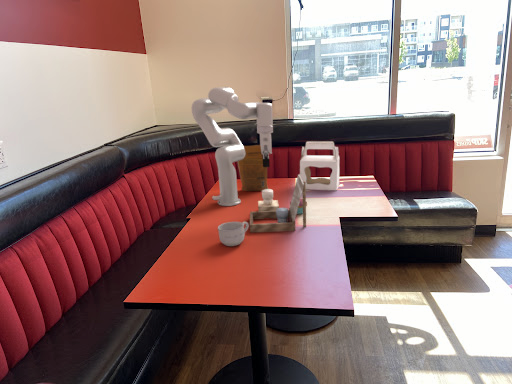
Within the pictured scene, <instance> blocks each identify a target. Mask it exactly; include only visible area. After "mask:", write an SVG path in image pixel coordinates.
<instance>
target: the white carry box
mask: <svg viewBox="0 0 512 384" xmlns="http://www.w3.org/2000/svg"><path fill="white" fill-rule="evenodd" d="M301 147H302V148H301V156H300V159H299V175H300V177H301V179H302V181H306V190H316V191H317V190H318V191H338V188H339V187H340V155H339V153H340V151H339V146H336V145H335V142H334V141H332V140H331V141H329V140H327V141H321V140H320V141H317V140H316V141H315V140H314V141H313V140H311V141H310V140H309V141H306V142H305V146H301ZM308 150H332V154H333V155H322V154H321V155H313V154H312V155H311V154H309V155H308V153H307V152H308ZM310 167H313V168H314V167H315V168H319V169H320V168H330V169H331V170H332V172H331V173H330V177H329V178H325V177H316V178H312V177H311V174H312V173H311V169H310Z"/></svg>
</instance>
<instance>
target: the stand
mask: <svg viewBox="0 0 512 384" xmlns="http://www.w3.org/2000/svg"><path fill="white" fill-rule="evenodd" d="M257 204H258V205H257V206H258V207H257V208H258V211H276V209H278V208H280V205H279V200H278V199H277V200H276V199H273V204H271V205H265V204H264V203H263V200H258V201H257Z"/></svg>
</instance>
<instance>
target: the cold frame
mask: <svg viewBox="0 0 512 384" xmlns="http://www.w3.org/2000/svg"><path fill="white" fill-rule="evenodd" d="M306 196H307V189H306V181H302V179H301V177H300V173H299V174H297V178H296V182H295V185H294V189H293V193H292V198H291V201H290V202H291V205H290V204H289V207H288V218H289V222H287V223H278V222H270V223H267V222H266V223H254V220H265V219H264V218H271V219H278V218H277V217H276V211H250V212H249V233H250V234H251V233H270V232H271V233H272V232H292V231H296V229H297V228H296V218H297V215H298V214H297V210H298V206H299V203H300V199H303V213H302V227H303V228H306V227H307V206H306V201H307V197H306ZM288 218H287V219H288Z"/></svg>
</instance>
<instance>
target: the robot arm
mask: <svg viewBox="0 0 512 384" xmlns="http://www.w3.org/2000/svg"><path fill="white" fill-rule="evenodd" d="M225 109H226V110H227V112H228V113H229V115H231V116H232V117H235V118H237V119H240V120H249V119H256V130H257V131H256V133H257V134H259V145H260V146H261V153H262V154H263V155H262V158H263V167H267V168H270V167H271V166H270V155H271V154H273V152H272V149H273V148H272V133H274V126H273V125H274V123H273V122H274V121H273V119H274V118H273V104H272V103H270V102H260V101H253V102H252V101H250V102H240V101H239V96H238V95H237V94H236V93H235V91H234V89H232V88H231V87H229V86H222V87H219V86H218V87H213V88H211V89H210V90H209V92H208V95H207V97H204V98H198V99H196V100H194V101H193V103H192V104H191V115H192V117H193V119H194V121H195V122H196V124H197V125H198V126H199V128H200V129H201V130H202V132H203V134H204V135H205V137H206V139H207V141H208V143H209V144H210V146H212V147H214V148H217V149H216V151H215V153H214V157H215V161H216V166H217V172H218V183H219V184H218V185H219V195H217V196H216V195H212V198H211V199H212V200H214V201H217V204H218V205H219V206H222V207H232V206H236V205H240V204H241V202H242V201H241V199H240V198H238V196H239V194H238V183H237V182H238V180H237V170H236V167H235V166H234V164H233V163H235V162H237V161H240V160H242V159H244V157H245V154H246V153H245V149H244V147H243V146H244V145H243V144H242V141H241V140H240V138H239V137H238V134H237V133H236V132H235V131H234V129H232V128H230V127H220V126H219V125H218V124H217V122H216V121H215V119H213V118H212V117H211V116H209V114H211V115H212V114H218V113H220V112H222V111H224V110H225ZM237 163H238V162H237Z"/></svg>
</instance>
